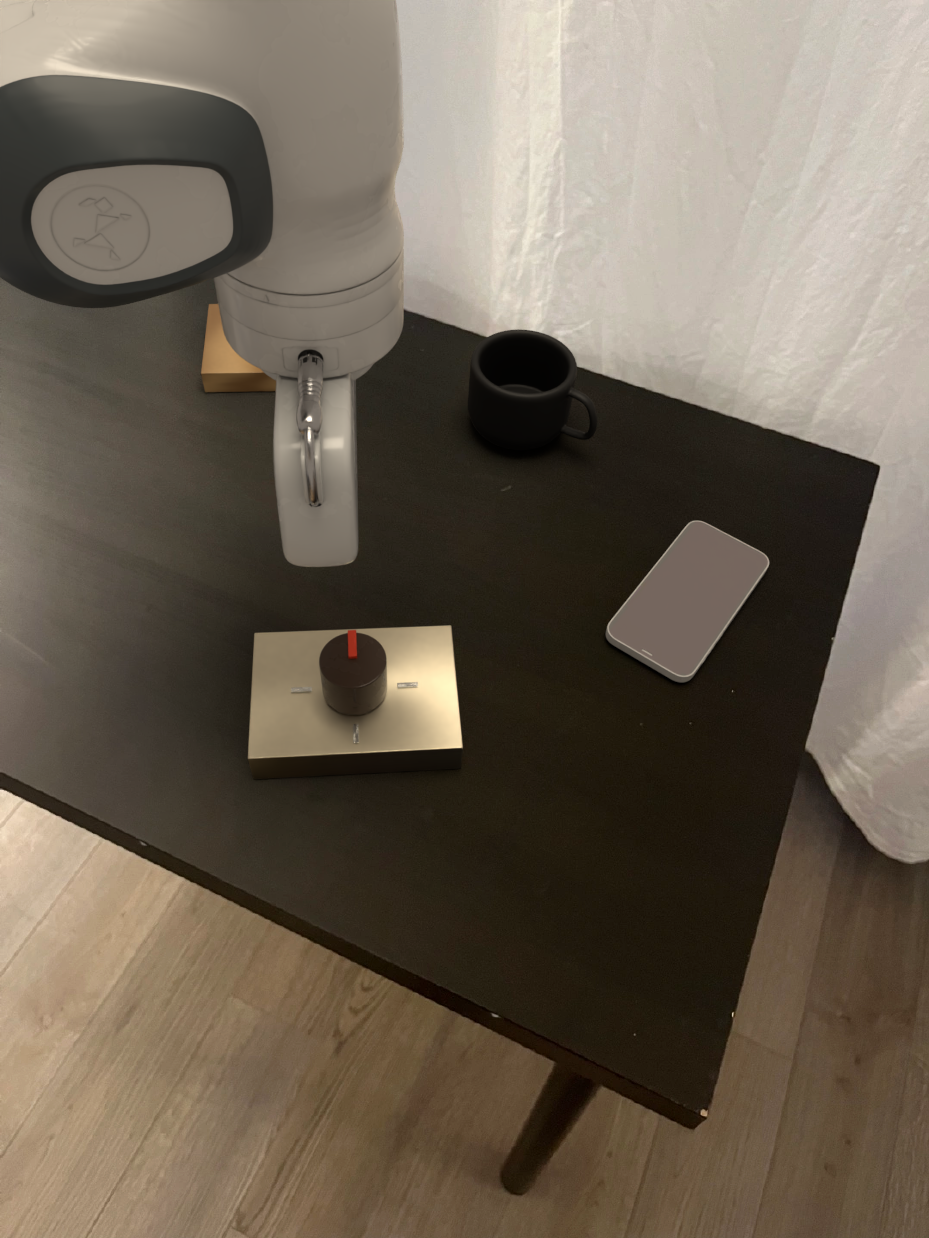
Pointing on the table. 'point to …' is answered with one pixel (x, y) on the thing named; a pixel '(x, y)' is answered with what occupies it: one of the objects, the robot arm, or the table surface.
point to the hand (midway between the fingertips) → (329, 492)
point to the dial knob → (353, 673)
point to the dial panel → (354, 744)
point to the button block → (228, 363)
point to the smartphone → (687, 600)
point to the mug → (524, 390)
